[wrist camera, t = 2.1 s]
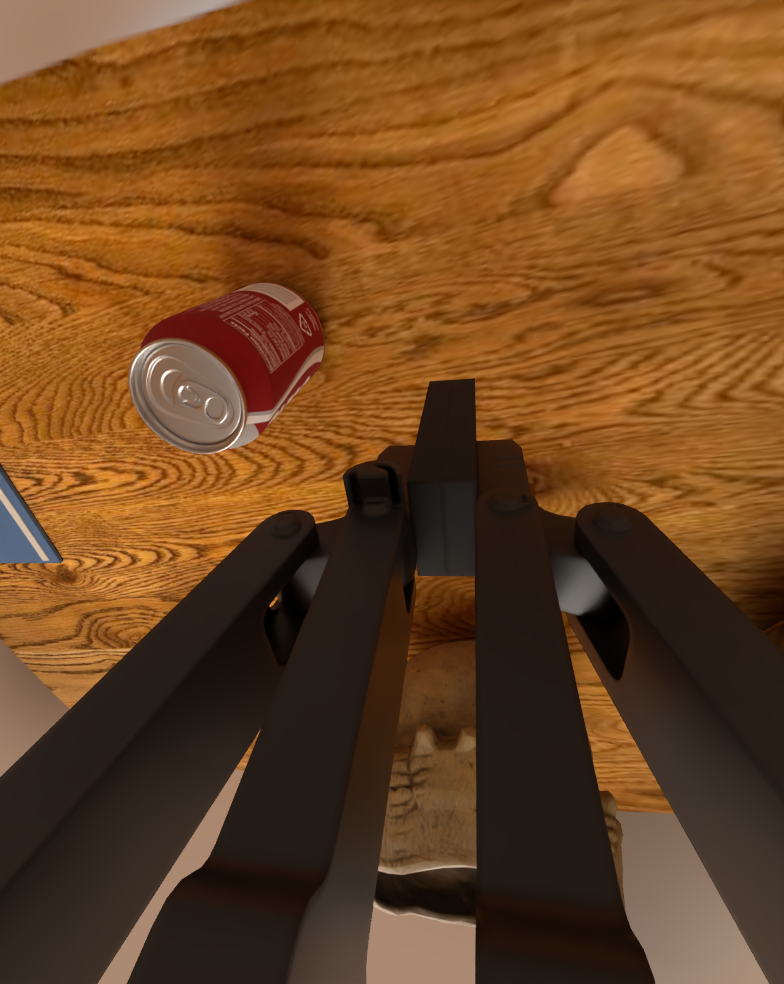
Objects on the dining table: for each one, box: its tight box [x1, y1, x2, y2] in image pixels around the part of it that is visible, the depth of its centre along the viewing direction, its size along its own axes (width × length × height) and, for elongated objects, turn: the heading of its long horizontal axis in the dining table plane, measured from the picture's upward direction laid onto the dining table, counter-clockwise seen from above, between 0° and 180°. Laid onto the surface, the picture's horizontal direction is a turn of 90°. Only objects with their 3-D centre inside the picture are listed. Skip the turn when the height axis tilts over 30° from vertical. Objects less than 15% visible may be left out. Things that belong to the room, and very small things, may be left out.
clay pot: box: [373, 640, 625, 928], centre depth 38 cm, size 21×21×20 cm
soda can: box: [128, 282, 325, 454], centre depth 26 cm, size 7×7×12 cm
